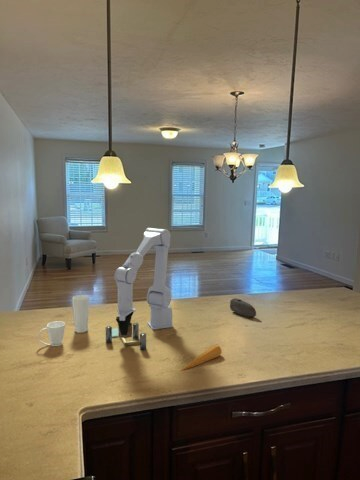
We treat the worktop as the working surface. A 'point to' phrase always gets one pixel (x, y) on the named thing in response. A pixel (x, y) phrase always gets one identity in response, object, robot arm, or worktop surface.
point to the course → (135, 336)
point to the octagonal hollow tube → (127, 332)
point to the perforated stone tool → (242, 308)
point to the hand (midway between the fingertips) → (125, 331)
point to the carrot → (205, 356)
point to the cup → (54, 333)
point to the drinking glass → (80, 312)
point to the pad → (115, 332)
